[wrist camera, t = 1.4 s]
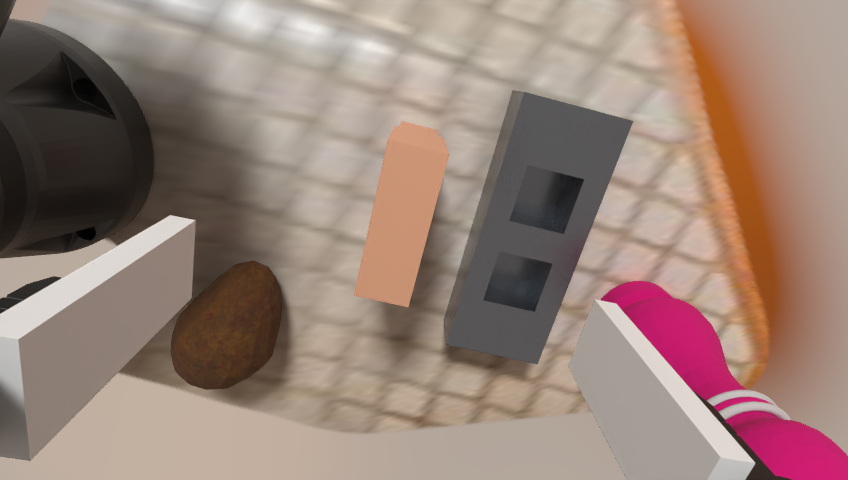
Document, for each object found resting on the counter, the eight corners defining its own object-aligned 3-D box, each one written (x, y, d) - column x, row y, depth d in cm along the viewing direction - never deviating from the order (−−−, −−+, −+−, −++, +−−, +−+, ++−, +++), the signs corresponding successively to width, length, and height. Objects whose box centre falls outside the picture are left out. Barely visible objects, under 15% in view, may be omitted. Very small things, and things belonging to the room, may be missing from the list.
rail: (443, 320, 36) (446, 344, 33) (512, 90, 30) (523, 91, 27) (526, 338, 37) (537, 364, 33) (610, 116, 31) (633, 121, 27)
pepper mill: (694, 320, 36) (990, 583, 17) (616, 369, 38) (811, 659, 19) (648, 256, 34) (925, 473, 15) (569, 310, 36) (732, 568, 17)
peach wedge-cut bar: (372, 234, 34) (353, 295, 24) (398, 120, 31) (388, 139, 21) (412, 243, 34) (408, 307, 24) (440, 131, 31) (449, 154, 22)
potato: (314, 278, 35) (289, 324, 28) (260, 376, 38) (227, 438, 31) (228, 235, 34) (181, 273, 27) (180, 340, 37) (128, 397, 30)
